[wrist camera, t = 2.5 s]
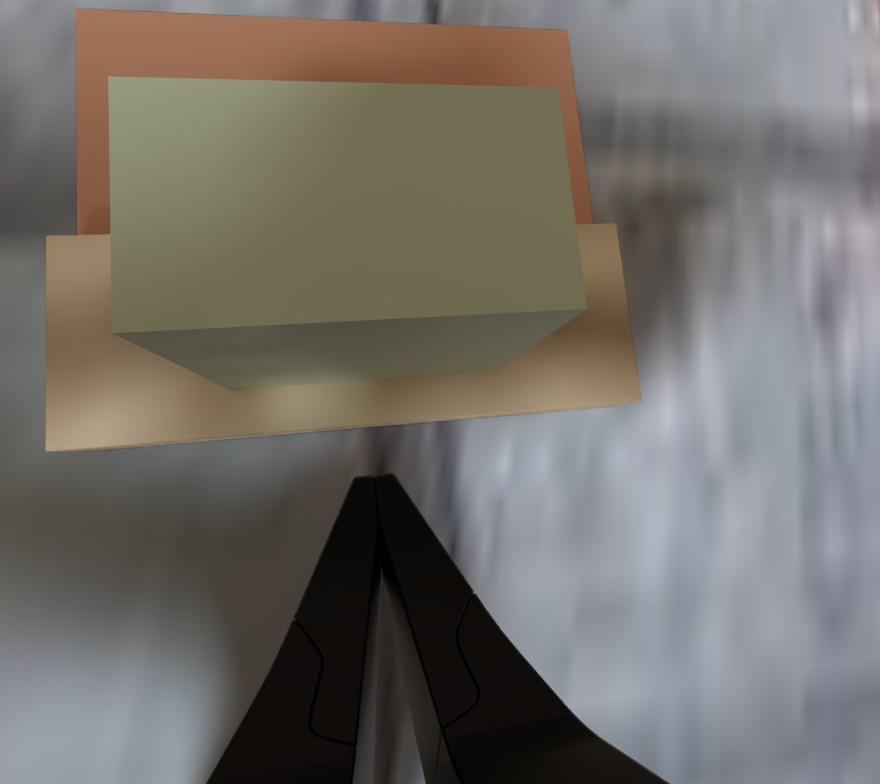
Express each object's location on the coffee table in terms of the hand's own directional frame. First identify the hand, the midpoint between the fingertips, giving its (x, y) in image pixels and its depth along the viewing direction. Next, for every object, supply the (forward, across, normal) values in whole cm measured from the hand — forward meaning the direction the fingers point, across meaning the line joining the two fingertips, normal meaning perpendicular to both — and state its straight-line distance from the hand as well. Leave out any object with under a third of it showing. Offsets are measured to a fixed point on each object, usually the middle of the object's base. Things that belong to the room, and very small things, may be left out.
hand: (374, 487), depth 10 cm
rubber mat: (+16, 0, -4) cm, 16 cm away
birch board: (+9, 0, +2) cm, 10 cm away
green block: (+8, 0, 0) cm, 8 cm away
